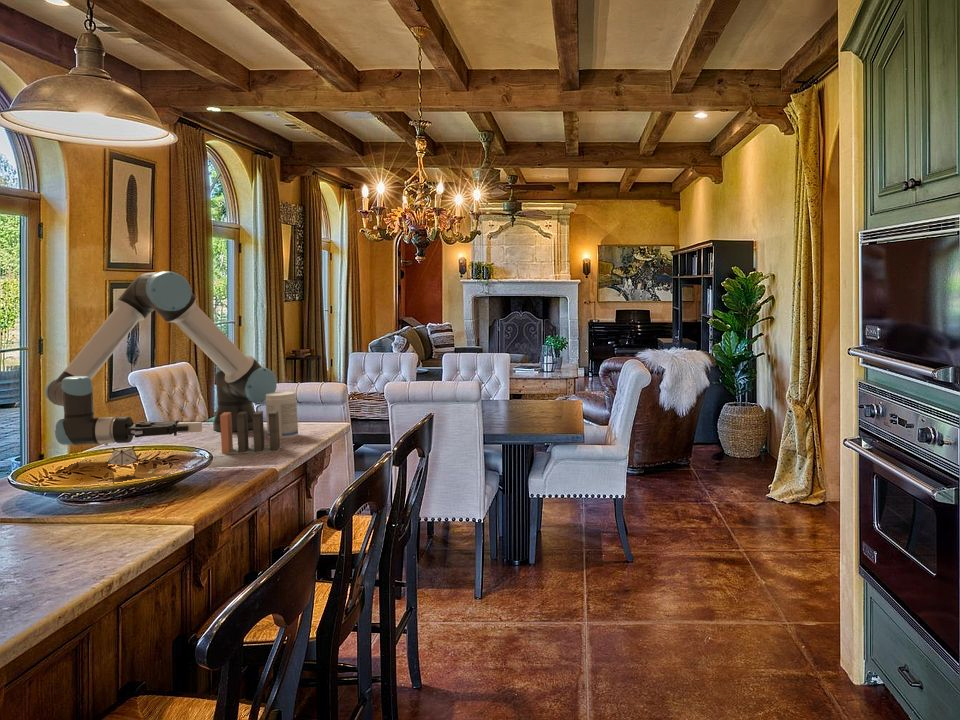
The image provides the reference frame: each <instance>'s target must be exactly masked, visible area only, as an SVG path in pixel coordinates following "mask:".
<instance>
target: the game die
mask: <svg viewBox="0 0 960 720" xmlns="http://www.w3.org/2000/svg"><path fill="white" fill-rule="evenodd" d="M135 448H136V446H135V445H133V446H132V448H119V449H115V447H113V446H112V447H111V449H112V453H111V455H110V456H109V458H108V461H104V464H107V465H108V464H114V465H115V464H117V465H123V464H130V463H134V462H138V461H139V462H141V458H138V455H137V453H136V451H135V450H134V449H135Z"/></svg>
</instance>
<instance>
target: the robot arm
mask: <svg viewBox="0 0 960 720" xmlns="http://www.w3.org/2000/svg"><path fill="white" fill-rule="evenodd" d="M154 311H155V312H156V313H157V314H158V315H159V316H160V317H161V318H162V319H163V320H164V321H165V322H166V323H174V324H175V326H177V327H178V328H179V329H180V330H181V331H182V332H183V333H184V334H185V335H186V336H187V337H188V338H189V339H190V341H192V342H193V343H194V344H195V345H196V346H197V348H199V349H200V350H201V351H202V352H203V353H204V354H205V355H206V356H207V357H208V358H209V359H210V360H211V361H212V363H214V364H215V365H216V366H215V380H216V381H215V383H216V386H215V387H216V399H217V400H216V401H217V407H216V411H215V414H214V415H215V416H214V419H213V424H212V425H213V426H212V427H213V430H214V431H217V432H221V425H220V415H221V414H223V413H224V412H231V418H232V432H237V414H238V413H239V412H247V418H248V431H250V430H253V413H254V412H256V411H255V408H254V404H253V403H255V404H257V403H266V394H268V393H274V392H277V391H276V390H277V385H278V379H277V376H276V375H275V373H274V371H272V370H271V369H269V368H268V367H264V366H262V365H261V364H260V363H259V362H258V361H257V360H256V359H255V358H254V356H252V355H245V354H244V352H242V351H241V350H240V349H239V348H238V346H237V345H235V343H234V342H232V340H231V339H230V338H229V337H228V336H227V335H226V334H225V333H224V332H223V331H222V330H221V329H220V328H219V327H218V326H217V325H216V323H214V322H213V320H211V319H210V317H209V316H208V315H207V314H206V313H205V312H204V311H203V310H202V309H201V308H200V307H199V306H198V304H197V296H196V295H195V294H194V293H193V292H192V288H191V285H190V283H189V281H188V280H187V279H186V277H184V276H183V275H181V274H179V273H177V272H173V271H168V270H161V271H156V272H152V271H151V272H146V273H141V275H139V276H137V277H136V278H135V279H133V281H132V282H131V283H130V284H129V285H128V287H127V288H126V289H125V290H124V291H123V293H122V294H121V295H120V297H119V298H118V299H117V300H116V306H115V308H114V309H113V311H112V312H111V313H110V314H109V315H108V317H106V319H105V321H104V322H103V323H102V324H101V325H100V326H99V328H98V329H97V330H96V331H95V332H94V334H93V335H92V336H91V338H89V340H87V342H86V343H85V345H84V346H83V347H82V348H81V350H80V351H79V352H78V354H76V355H75V357H74V359H73V360H72V361H71V362H70V363H69V364H68V366H67V367H66V368H65V369H64V370H63V372H61V374H60V375H59V376H58V377H57V378H56V379H52V380H51V381H50V382H49V383H47V385H46V387H45V389H44V393H45V397H46V399H47V400H48V401H49V402H51V404H54V405H57V406H58V407H59V406H60V407H63V418H60V419H59V420H58V421H57V422H56V423H55V430H54V436H55V438H56V439H55V440H56V441H57V442H58V443H59V444H60V445H64V446H65V445H66V446H71V445H73V446H80V445H81V446H82V445H103V444H104V446H108V445H109V444H115V443H116V444H129V443H131V442H132V441H133V439H134V438H136V439H138V438H142V437H152V436H166V435H169V436H170V435H171V436H172V435H173V436H174V437H175V436H178V434H180V433H181V434H184V433H185V434H186V433H187V434H189V433H201V432H203V423H202V422H203V421H191V422H189V421H188V422H187V421H186V422H180V420H178V419H176V420H175V421H153V420H152V421H151V420H148V421H144V420H143V421H138V422H136V423H134V422H133V419H132V417H130V416H117V417H115V416H107V417H106V416H105V417H103V416H101V417H95V412H94V409H95V408H94V394H93V393H94V392H93V391H94V390H93V389H94V387H93V383H92V380H93V378H94V377H95V376H96V375H97V374H98V372H99V371H100V369H101V368H102V367H103V366H104V365H105V363H106V362H107V361H108V360H109V359H110V357H112V356H113V353H114V352H115V351H116V350H117V349H118V347H119V346H120V345H121V344H122V343H123V341H124V340H125V339H126V337H127V336H128V335H129V334H130V332H131V331H132V330H133V329H134V327H136V325H137V324H138V322H140V321H141V322H142V321H144V320H145V319H146V318H147V317H148V316H149V315H150V314H151V313H153V312H154Z"/></svg>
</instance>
